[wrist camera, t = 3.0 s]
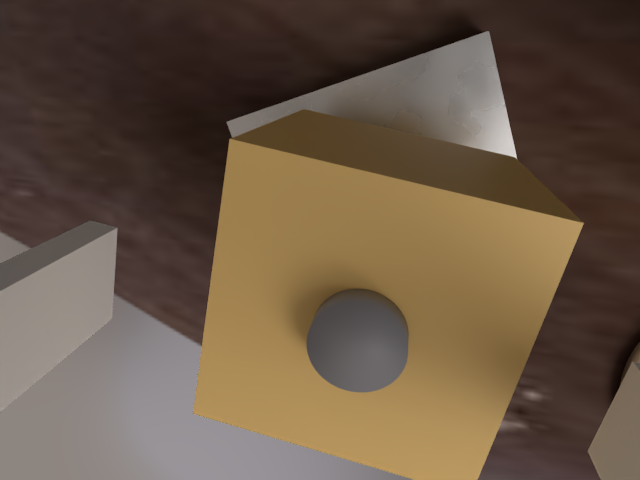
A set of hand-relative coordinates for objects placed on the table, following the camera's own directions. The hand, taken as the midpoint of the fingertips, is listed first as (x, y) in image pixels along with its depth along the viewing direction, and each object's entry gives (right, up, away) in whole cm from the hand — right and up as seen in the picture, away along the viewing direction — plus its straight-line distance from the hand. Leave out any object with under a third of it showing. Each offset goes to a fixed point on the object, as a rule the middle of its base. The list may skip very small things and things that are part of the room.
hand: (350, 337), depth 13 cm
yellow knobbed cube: (+2, +3, +7) cm, 8 cm away
